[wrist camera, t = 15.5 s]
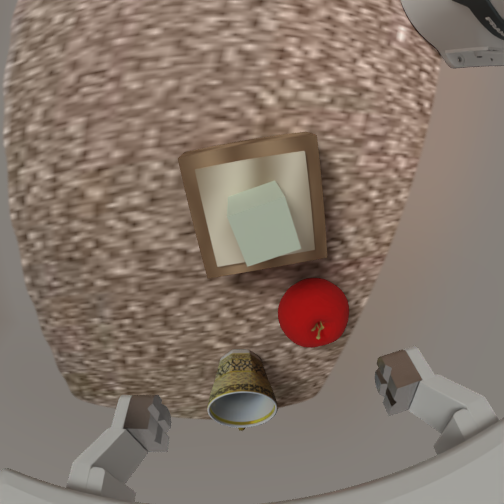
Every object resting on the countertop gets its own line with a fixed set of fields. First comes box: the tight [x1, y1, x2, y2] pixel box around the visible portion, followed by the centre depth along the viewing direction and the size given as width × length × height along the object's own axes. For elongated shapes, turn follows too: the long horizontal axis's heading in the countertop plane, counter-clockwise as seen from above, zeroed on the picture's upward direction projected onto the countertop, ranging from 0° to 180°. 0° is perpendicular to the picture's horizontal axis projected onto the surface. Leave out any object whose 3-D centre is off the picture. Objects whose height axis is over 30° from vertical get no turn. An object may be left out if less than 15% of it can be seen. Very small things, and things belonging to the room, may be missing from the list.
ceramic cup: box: [207, 349, 278, 430], centre depth 44 cm, size 13×10×10 cm
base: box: [178, 132, 327, 278], centre depth 33 cm, size 14×14×5 cm
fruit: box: [278, 278, 349, 347], centre depth 38 cm, size 9×9×10 cm
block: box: [227, 181, 301, 267], centre depth 28 cm, size 5×5×6 cm
